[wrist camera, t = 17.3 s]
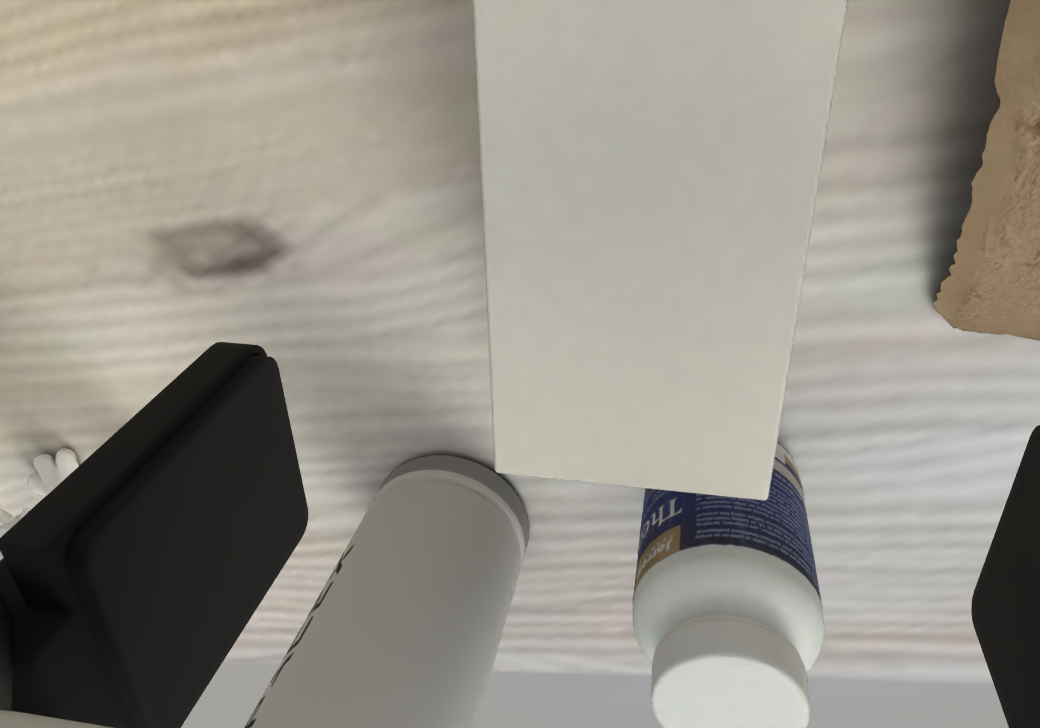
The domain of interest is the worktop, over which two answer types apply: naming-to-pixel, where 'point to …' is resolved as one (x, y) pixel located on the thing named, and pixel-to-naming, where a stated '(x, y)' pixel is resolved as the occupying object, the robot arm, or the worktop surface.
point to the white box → (648, 230)
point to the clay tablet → (1004, 200)
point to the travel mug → (408, 607)
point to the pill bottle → (729, 605)
